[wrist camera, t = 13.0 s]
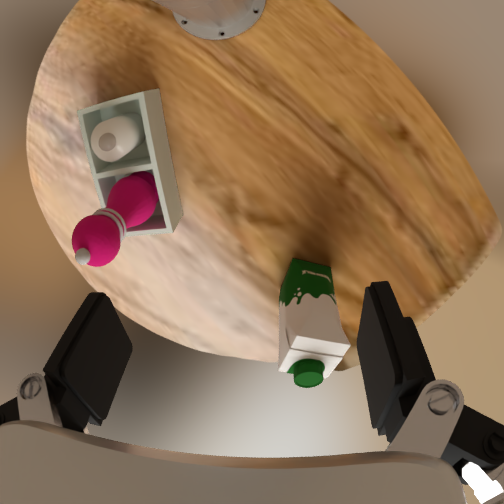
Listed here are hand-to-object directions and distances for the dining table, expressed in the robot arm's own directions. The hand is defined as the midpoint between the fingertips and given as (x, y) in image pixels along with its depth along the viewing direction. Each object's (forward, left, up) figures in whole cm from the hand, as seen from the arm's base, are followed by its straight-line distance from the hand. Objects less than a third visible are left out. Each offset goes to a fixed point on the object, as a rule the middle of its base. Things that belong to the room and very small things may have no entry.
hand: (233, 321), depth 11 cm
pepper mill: (+7, -19, -36) cm, 41 cm away
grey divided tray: (+2, -19, -36) cm, 41 cm away
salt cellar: (-3, -19, -35) cm, 40 cm away
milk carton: (+26, +5, -36) cm, 45 cm away
